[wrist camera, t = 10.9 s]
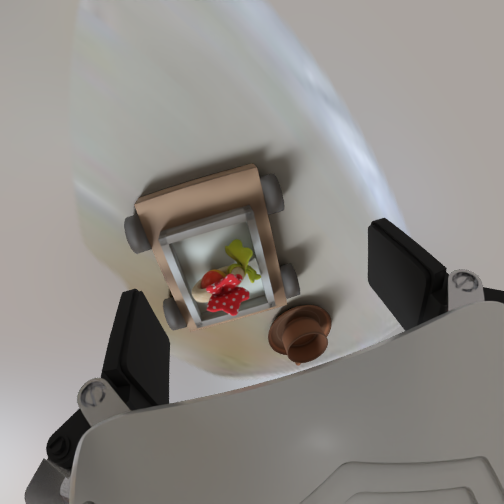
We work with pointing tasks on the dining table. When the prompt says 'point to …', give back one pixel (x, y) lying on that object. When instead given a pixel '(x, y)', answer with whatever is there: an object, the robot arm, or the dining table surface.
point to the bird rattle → (227, 281)
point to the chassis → (213, 241)
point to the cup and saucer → (301, 333)
